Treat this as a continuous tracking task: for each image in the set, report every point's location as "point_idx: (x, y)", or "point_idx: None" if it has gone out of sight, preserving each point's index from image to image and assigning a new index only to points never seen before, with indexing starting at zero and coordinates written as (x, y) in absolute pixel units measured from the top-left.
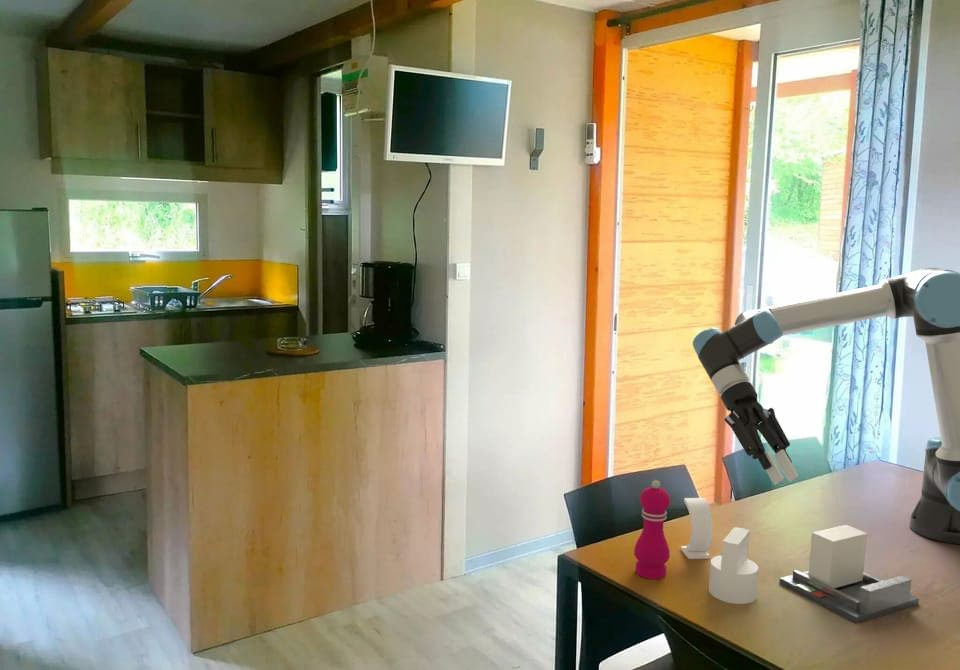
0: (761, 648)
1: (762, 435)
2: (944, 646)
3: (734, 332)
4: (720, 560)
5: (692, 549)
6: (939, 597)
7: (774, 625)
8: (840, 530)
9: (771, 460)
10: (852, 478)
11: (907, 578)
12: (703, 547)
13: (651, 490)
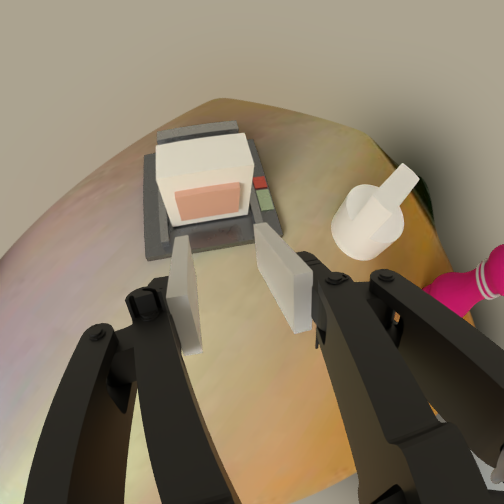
0: (367, 145)
1: (224, 468)
2: (201, 108)
3: None
4: (390, 228)
5: None
6: (108, 169)
7: (341, 164)
8: (191, 160)
9: (292, 249)
10: None
11: (159, 133)
12: None
13: None
